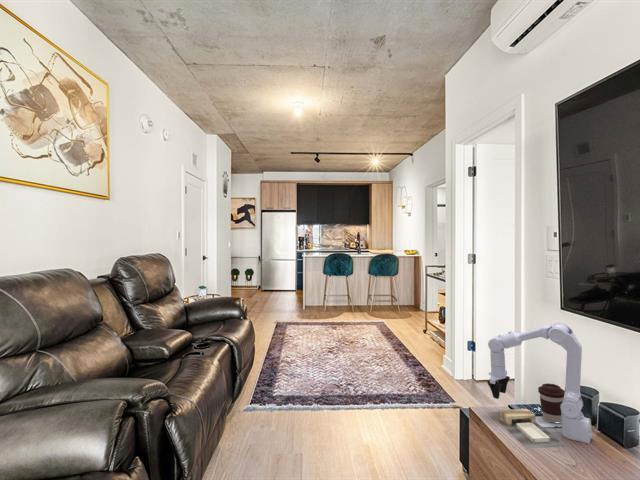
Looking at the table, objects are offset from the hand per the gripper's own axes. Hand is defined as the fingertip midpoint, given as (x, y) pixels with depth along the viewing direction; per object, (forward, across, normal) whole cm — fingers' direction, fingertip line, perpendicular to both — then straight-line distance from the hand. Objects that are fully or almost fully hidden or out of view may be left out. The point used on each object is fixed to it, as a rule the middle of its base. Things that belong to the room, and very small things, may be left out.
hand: (499, 395), depth 163 cm
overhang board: (+10, +6, +13) cm, 18 cm away
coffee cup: (+10, -11, +17) cm, 23 cm away
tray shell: (+9, +8, +15) cm, 20 cm away
